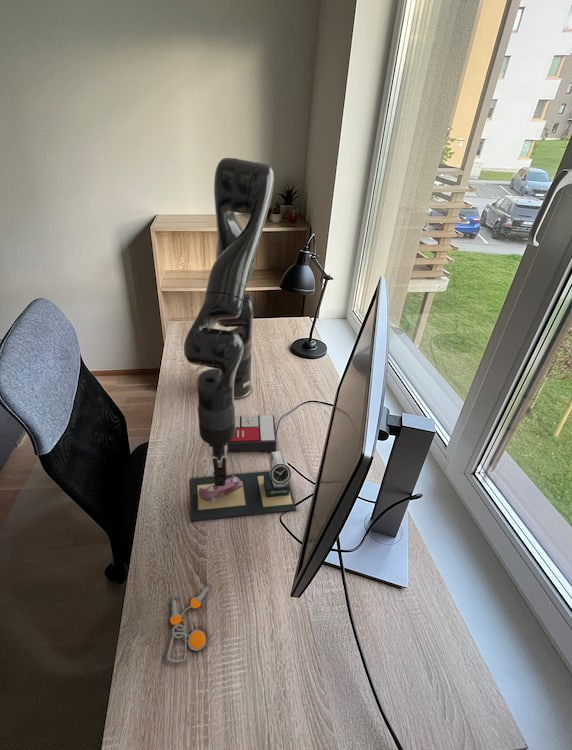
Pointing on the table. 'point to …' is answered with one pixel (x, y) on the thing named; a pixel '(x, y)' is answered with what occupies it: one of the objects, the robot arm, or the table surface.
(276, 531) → the table surface
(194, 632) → the key chain
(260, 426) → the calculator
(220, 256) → the robot arm
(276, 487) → the watch
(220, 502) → the desk mat
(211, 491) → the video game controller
